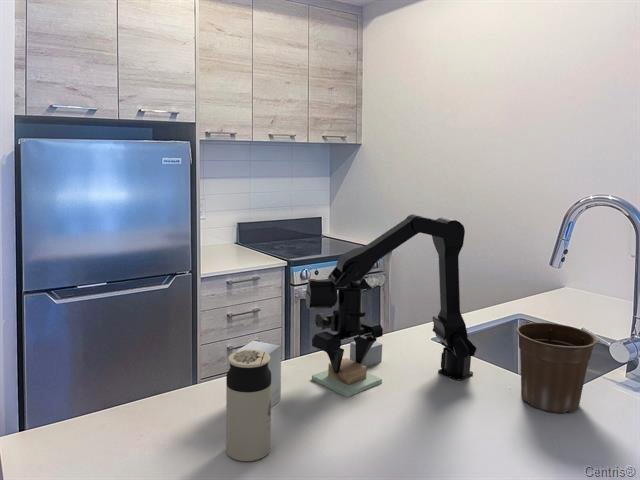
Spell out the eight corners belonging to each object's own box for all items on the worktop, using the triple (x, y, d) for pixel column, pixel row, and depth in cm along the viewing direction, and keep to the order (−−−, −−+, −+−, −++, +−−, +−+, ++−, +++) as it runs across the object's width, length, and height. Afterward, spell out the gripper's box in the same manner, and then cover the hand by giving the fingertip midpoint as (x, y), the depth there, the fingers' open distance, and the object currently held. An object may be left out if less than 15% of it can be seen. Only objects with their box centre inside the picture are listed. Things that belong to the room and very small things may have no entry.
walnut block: (366, 378, 124) (366, 366, 123) (348, 385, 120) (348, 373, 119) (345, 369, 129) (346, 357, 129) (328, 375, 125) (328, 363, 125)
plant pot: (509, 409, 113) (515, 339, 110) (511, 380, 128) (517, 318, 125) (592, 425, 107) (601, 351, 104) (584, 393, 122) (592, 328, 119)
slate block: (381, 361, 137) (382, 344, 136) (365, 367, 133) (366, 349, 133) (365, 355, 142) (366, 337, 141) (349, 360, 138) (350, 342, 137)
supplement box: (281, 399, 114) (282, 345, 112) (264, 414, 108) (265, 356, 106) (253, 392, 117) (253, 339, 115) (234, 406, 111) (234, 350, 109)
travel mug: (220, 460, 91) (219, 363, 88) (234, 436, 99) (235, 346, 96) (263, 465, 90) (264, 367, 87) (275, 441, 97) (276, 350, 95)
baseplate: (381, 382, 124) (382, 378, 124) (346, 397, 116) (346, 392, 116) (346, 366, 133) (347, 363, 133) (311, 379, 125) (311, 375, 125)
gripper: (353, 293, 134) (351, 350, 136) (297, 305, 121) (296, 368, 124) (385, 303, 126) (382, 363, 128) (329, 317, 113) (327, 384, 116)
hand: (347, 369), depth 124 cm, fingers open, 7 cm apart
